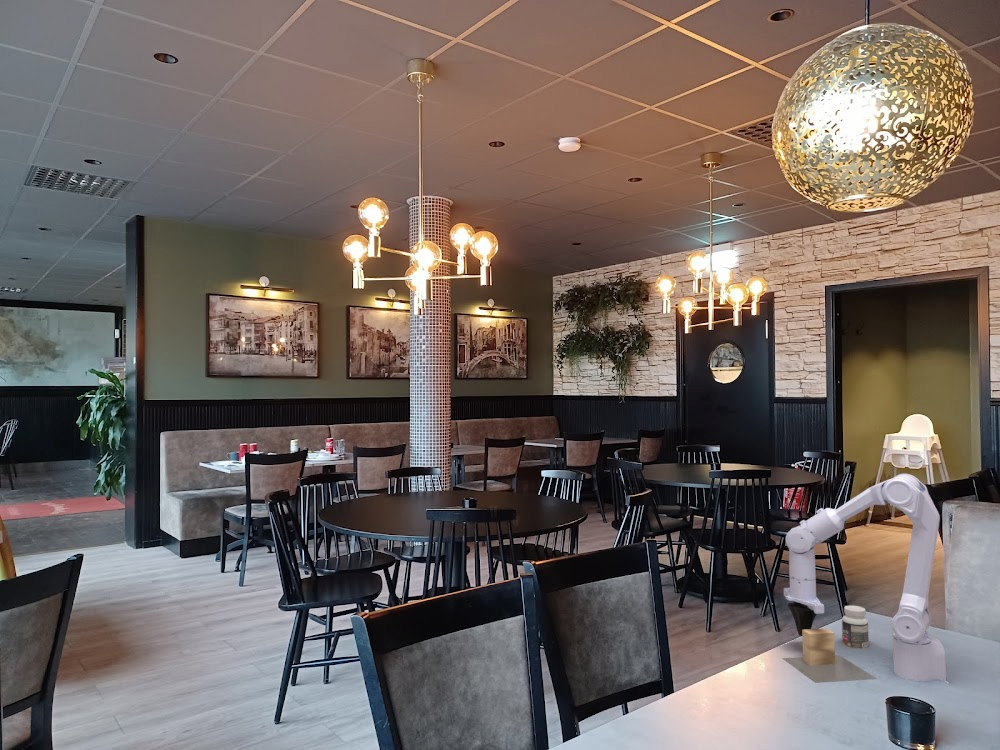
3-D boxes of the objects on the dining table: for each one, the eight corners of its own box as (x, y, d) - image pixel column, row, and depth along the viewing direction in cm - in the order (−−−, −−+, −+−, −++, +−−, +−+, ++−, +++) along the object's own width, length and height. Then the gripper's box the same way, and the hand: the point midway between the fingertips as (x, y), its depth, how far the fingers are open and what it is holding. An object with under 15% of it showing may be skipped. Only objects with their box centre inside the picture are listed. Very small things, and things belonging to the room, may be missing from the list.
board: (839, 660, 167) (838, 654, 167) (877, 684, 153) (877, 678, 153) (782, 663, 165) (782, 658, 165) (815, 688, 151) (815, 682, 151)
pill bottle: (839, 644, 177) (838, 604, 177) (863, 645, 176) (862, 605, 176) (847, 653, 171) (846, 611, 171) (872, 653, 170) (871, 612, 171)
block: (827, 659, 164) (826, 628, 164) (835, 663, 161) (834, 632, 161) (803, 660, 164) (802, 629, 164) (810, 665, 161) (809, 634, 161)
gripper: (771, 570, 176) (772, 626, 175) (802, 586, 161) (804, 647, 161) (798, 569, 177) (800, 624, 176) (832, 584, 162) (833, 645, 162)
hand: (804, 635), depth 169 cm, fingers closed
